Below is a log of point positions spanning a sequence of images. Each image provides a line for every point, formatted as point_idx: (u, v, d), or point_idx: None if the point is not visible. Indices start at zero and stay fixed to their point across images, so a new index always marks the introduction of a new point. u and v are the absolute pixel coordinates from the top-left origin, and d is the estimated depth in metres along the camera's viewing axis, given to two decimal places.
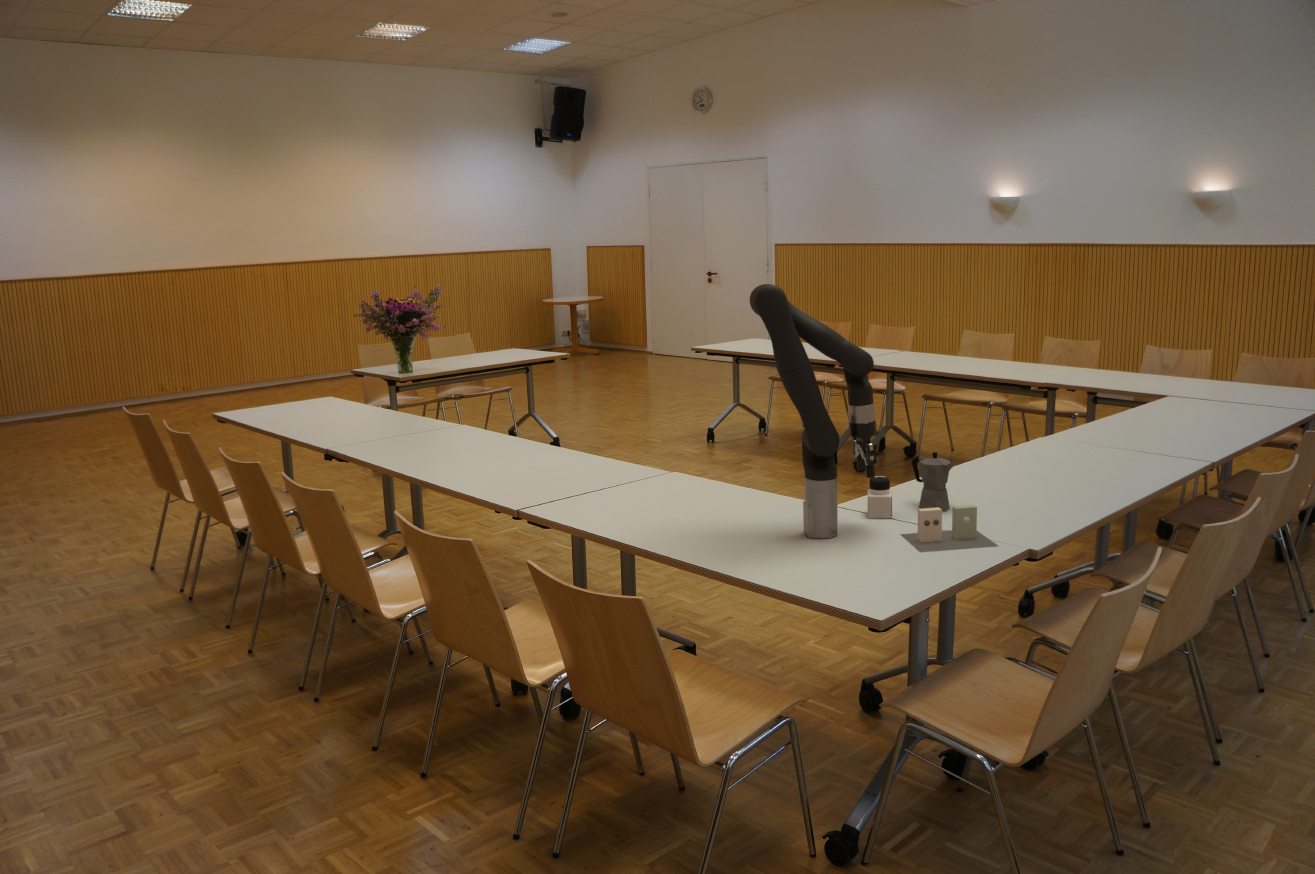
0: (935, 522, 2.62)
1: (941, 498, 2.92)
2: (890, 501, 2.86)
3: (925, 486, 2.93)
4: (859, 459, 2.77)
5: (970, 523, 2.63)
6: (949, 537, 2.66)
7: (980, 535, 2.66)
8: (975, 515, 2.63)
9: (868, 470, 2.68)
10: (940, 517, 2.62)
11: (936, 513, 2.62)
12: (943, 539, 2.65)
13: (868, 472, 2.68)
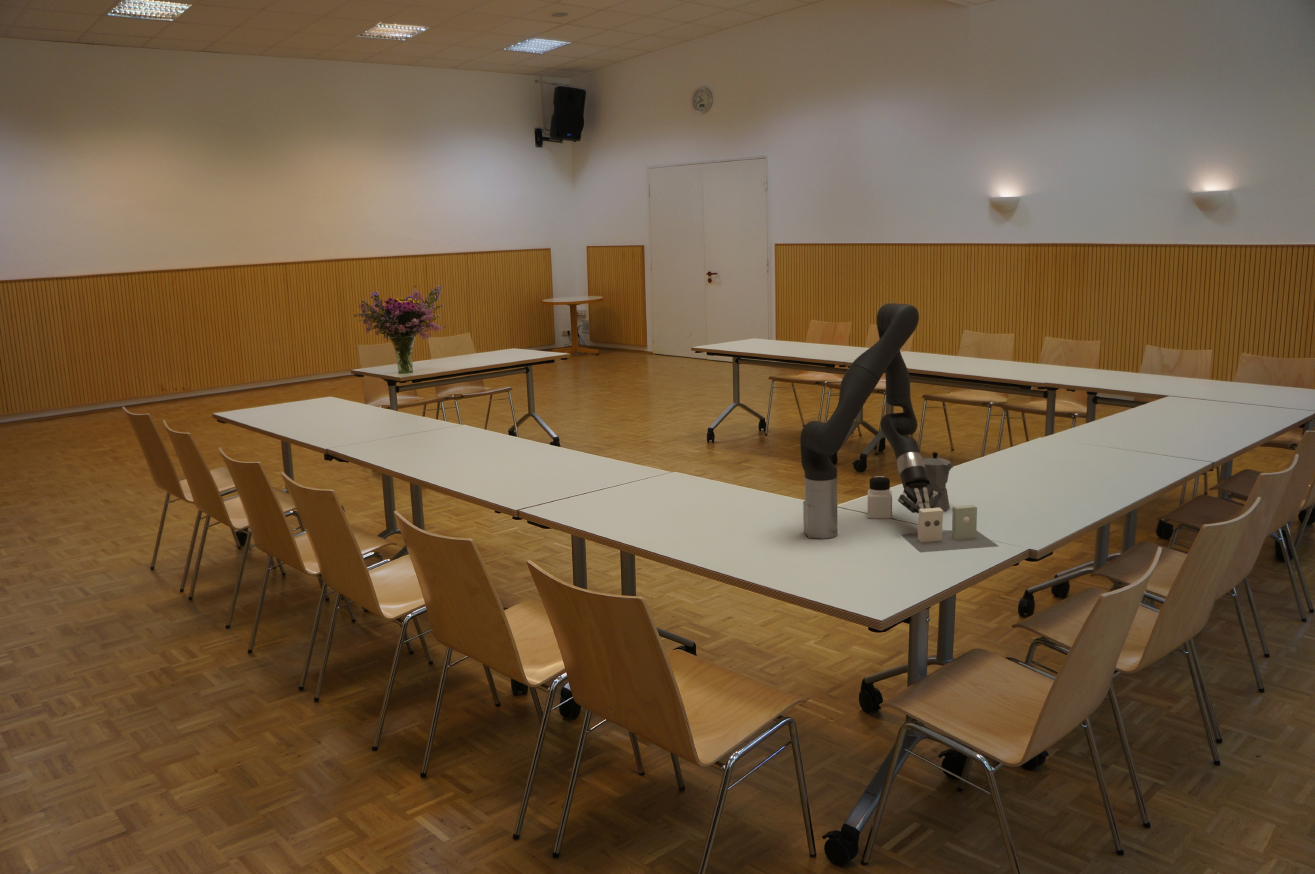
0: (935, 523, 2.61)
1: (941, 498, 2.92)
2: (890, 501, 2.86)
3: None
4: None
5: (970, 523, 2.63)
6: (949, 537, 2.66)
7: (980, 535, 2.66)
8: (975, 515, 2.63)
9: None
10: (941, 518, 2.61)
11: (937, 514, 2.61)
12: (943, 539, 2.65)
13: None
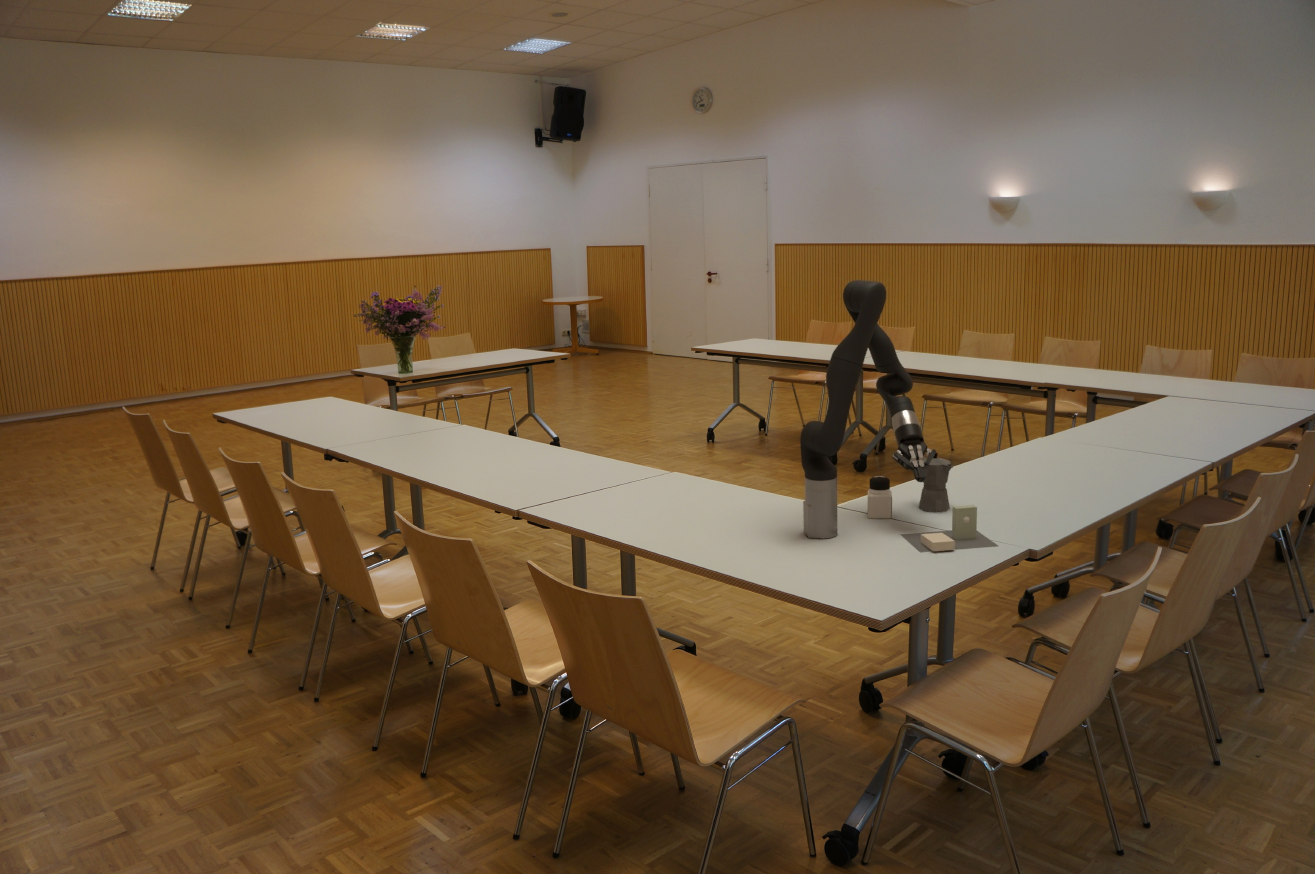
0: None
1: (941, 498, 2.92)
2: (890, 501, 2.86)
3: (925, 486, 2.93)
4: None
5: (970, 523, 2.63)
6: (949, 537, 2.66)
7: (980, 535, 2.66)
8: (975, 515, 2.63)
9: (923, 471, 2.68)
10: None
11: None
12: None
13: (924, 473, 2.68)
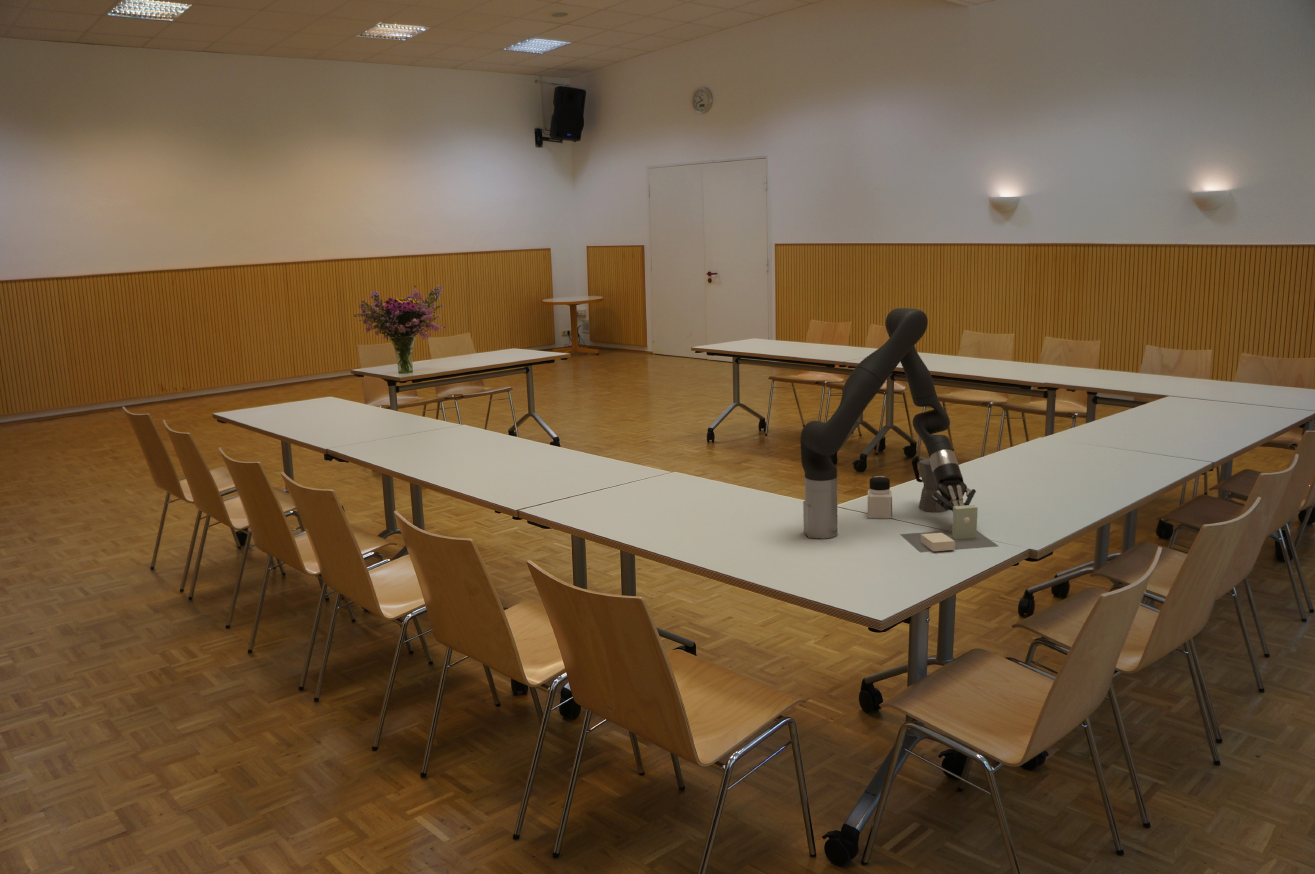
0: None
1: None
2: (890, 501, 2.86)
3: (925, 486, 2.93)
4: None
5: (970, 524, 2.63)
6: (949, 537, 2.66)
7: (980, 535, 2.66)
8: (975, 515, 2.63)
9: None
10: None
11: None
12: None
13: None
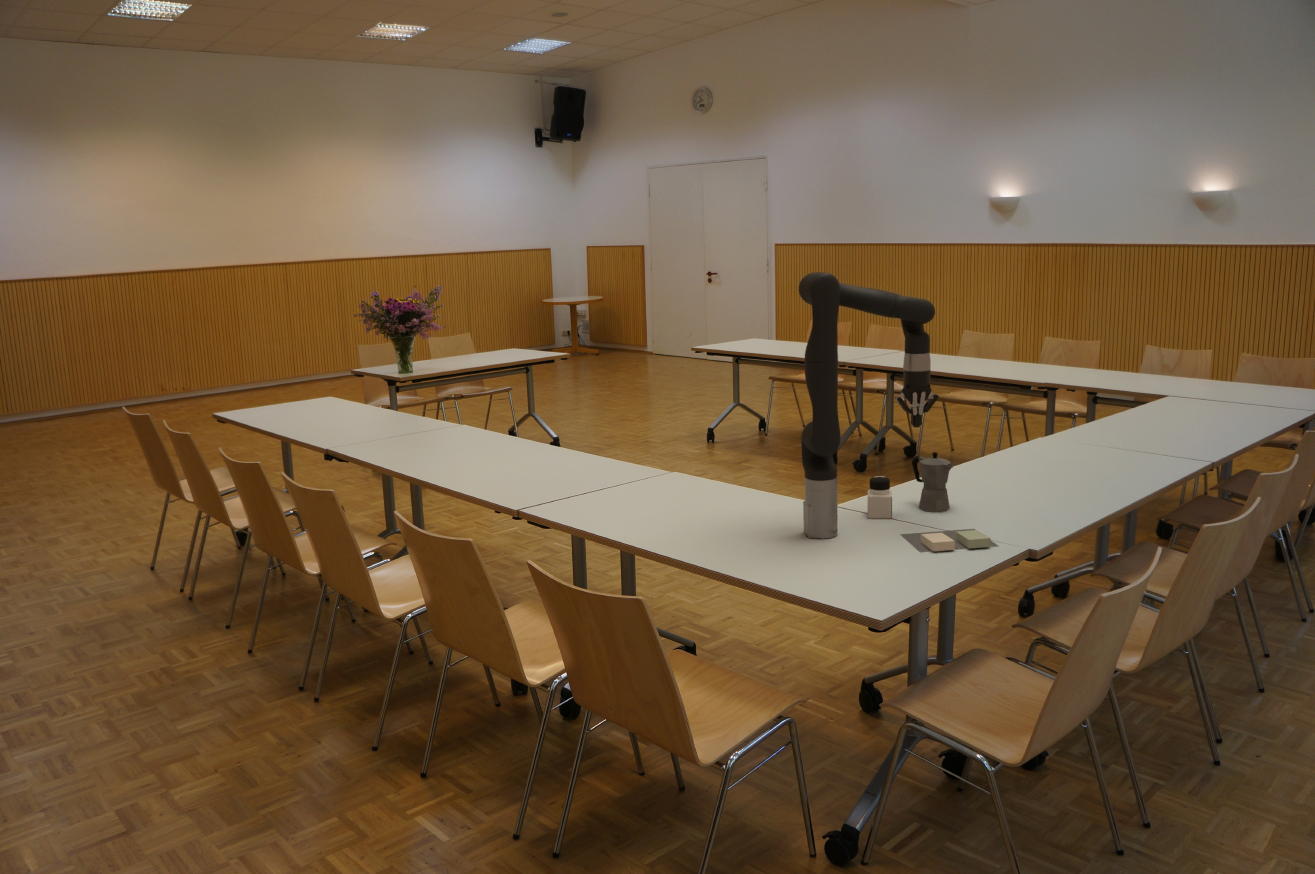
0: None
1: (941, 498, 2.92)
2: (890, 501, 2.86)
3: (925, 486, 2.93)
4: None
5: None
6: (949, 537, 2.66)
7: None
8: None
9: (920, 419, 2.76)
10: None
11: None
12: None
13: (920, 421, 2.76)
